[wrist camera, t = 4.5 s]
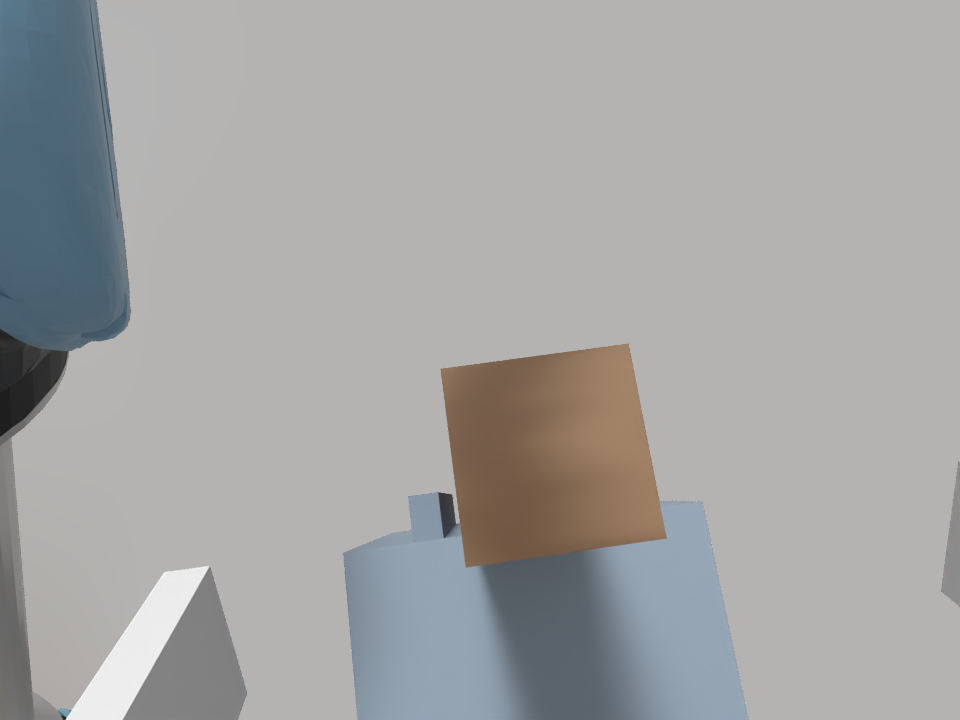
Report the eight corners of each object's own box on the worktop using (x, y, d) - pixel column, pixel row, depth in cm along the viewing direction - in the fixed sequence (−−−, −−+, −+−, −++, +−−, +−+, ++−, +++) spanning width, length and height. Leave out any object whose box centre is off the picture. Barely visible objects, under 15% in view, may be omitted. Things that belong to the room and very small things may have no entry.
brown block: (465, 567, 11) (440, 368, 11) (475, 520, 34) (466, 456, 35) (667, 538, 11) (628, 343, 11) (537, 511, 34) (527, 447, 35)
